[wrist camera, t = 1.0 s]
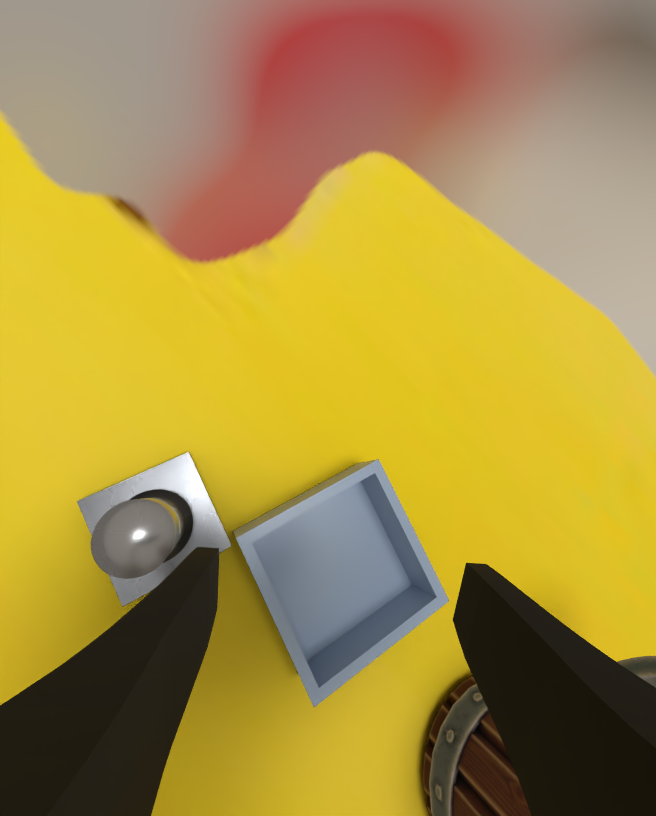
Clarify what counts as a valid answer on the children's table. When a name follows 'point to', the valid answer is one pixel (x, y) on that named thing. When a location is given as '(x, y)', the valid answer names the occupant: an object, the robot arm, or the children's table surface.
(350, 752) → the children's table surface
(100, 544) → the strut
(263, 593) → the bin
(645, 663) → the mug
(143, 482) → the grey metal square plate
